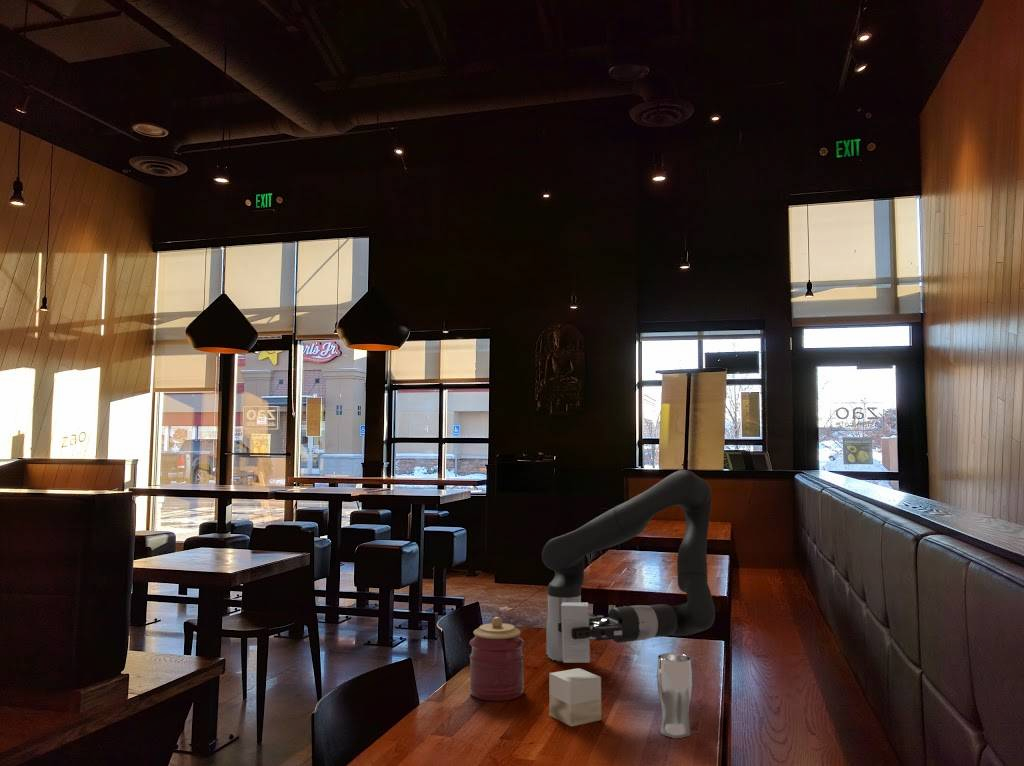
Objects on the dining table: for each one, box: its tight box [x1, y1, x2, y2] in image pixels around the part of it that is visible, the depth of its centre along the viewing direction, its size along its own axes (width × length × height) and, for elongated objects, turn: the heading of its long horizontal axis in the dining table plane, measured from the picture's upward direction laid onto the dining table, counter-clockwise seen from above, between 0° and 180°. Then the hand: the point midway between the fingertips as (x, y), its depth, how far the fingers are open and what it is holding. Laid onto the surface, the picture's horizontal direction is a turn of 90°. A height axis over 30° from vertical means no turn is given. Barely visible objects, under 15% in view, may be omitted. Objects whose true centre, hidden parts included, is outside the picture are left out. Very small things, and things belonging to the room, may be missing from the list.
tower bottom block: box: [548, 695, 602, 727], centre depth 162 cm, size 8×8×4 cm
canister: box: [468, 616, 525, 702], centre depth 179 cm, size 13×13×18 cm
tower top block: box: [548, 667, 602, 705], centre depth 163 cm, size 8×8×4 cm
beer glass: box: [656, 652, 693, 739], centre depth 154 cm, size 7×7×15 cm
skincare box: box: [561, 601, 591, 664], centre depth 163 cm, size 6×4×12 cm
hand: (565, 630), depth 163 cm, fingers closed on skincare box, 6 cm apart
